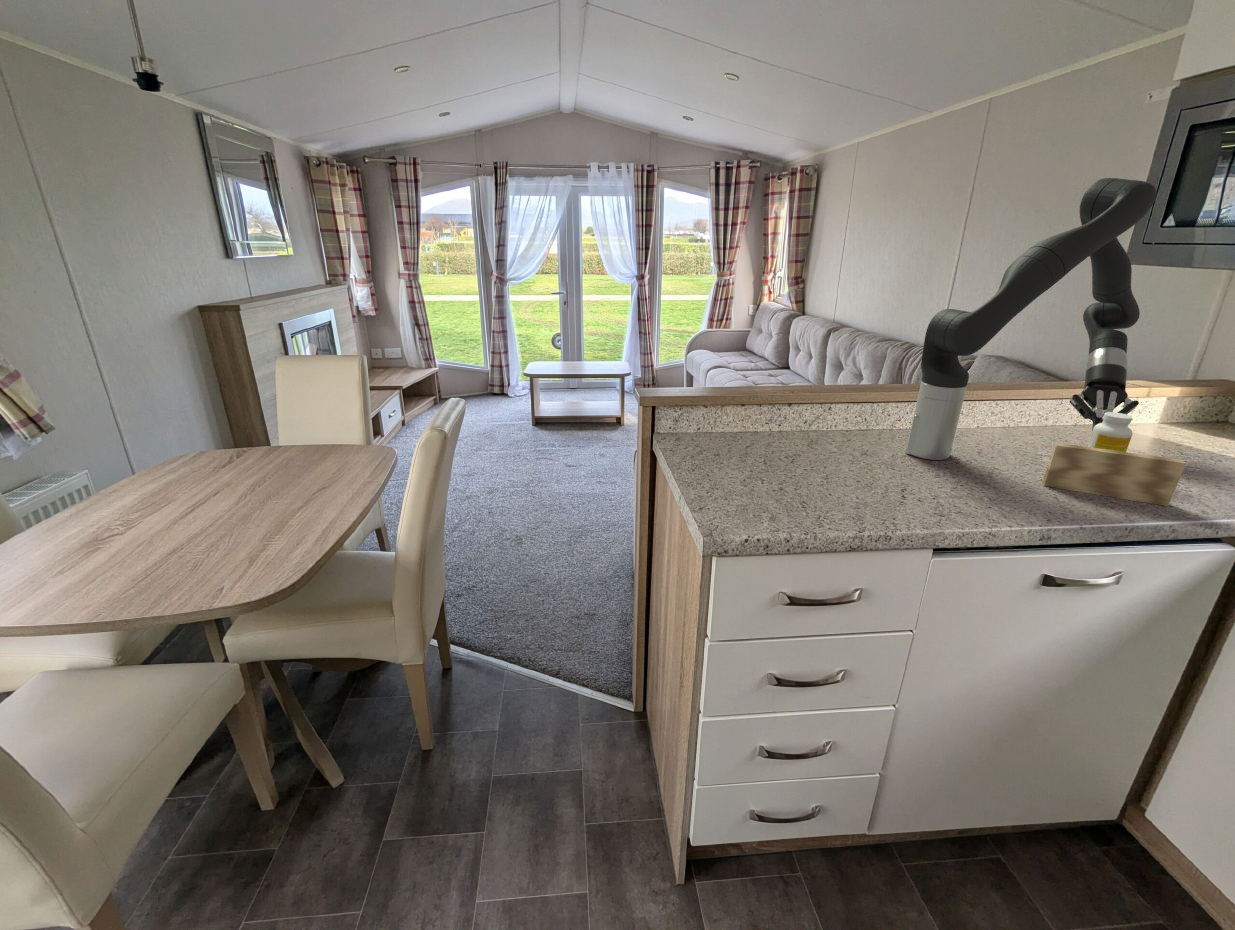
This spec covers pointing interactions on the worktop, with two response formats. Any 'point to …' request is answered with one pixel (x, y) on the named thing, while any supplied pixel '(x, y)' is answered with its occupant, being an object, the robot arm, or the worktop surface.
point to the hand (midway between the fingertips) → (1100, 434)
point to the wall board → (1113, 473)
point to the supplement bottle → (1112, 432)
